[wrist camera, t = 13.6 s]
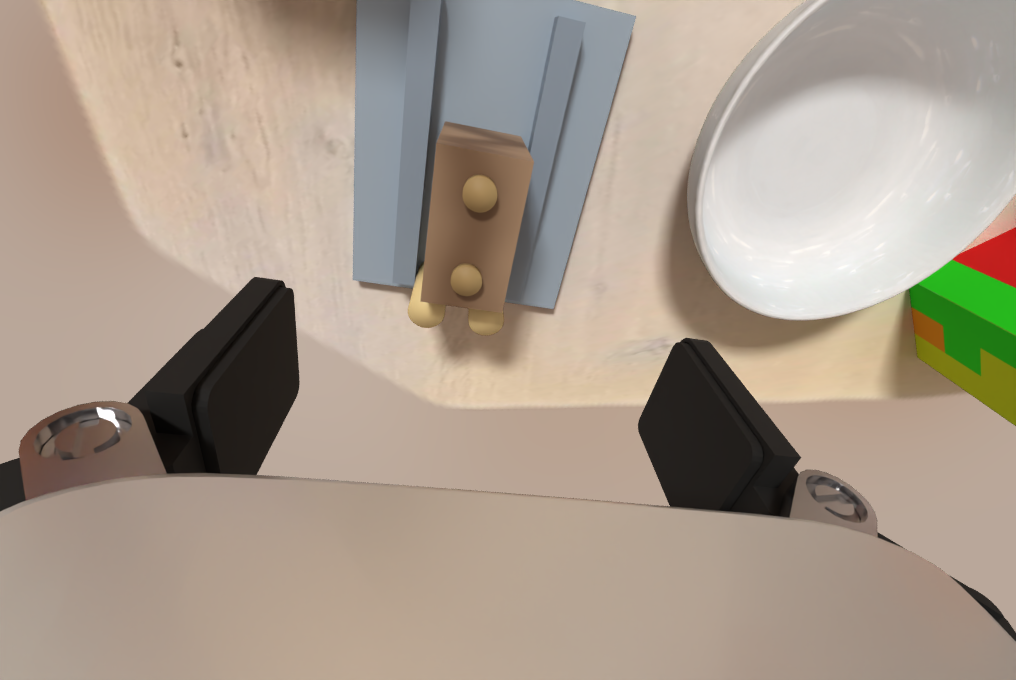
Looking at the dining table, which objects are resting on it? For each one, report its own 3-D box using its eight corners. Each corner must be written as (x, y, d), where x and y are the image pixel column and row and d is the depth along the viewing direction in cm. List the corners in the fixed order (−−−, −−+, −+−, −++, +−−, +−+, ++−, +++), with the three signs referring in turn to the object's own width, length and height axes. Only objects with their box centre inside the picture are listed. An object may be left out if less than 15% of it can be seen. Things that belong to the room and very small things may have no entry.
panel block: (520, 136, 30) (535, 164, 23) (496, 261, 35) (502, 317, 27) (445, 121, 29) (435, 144, 22) (431, 251, 34) (419, 306, 27)
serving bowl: (619, 259, 36) (646, 299, 31) (742, -82, 26) (820, -121, 20) (841, 299, 40) (903, 342, 34) (1033, 12, 29) (1173, 3, 23)
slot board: (631, 17, 28) (673, 8, 22) (551, 303, 38) (565, 349, 32) (361, -52, 25) (326, -83, 19) (355, 274, 36) (332, 319, 30)
